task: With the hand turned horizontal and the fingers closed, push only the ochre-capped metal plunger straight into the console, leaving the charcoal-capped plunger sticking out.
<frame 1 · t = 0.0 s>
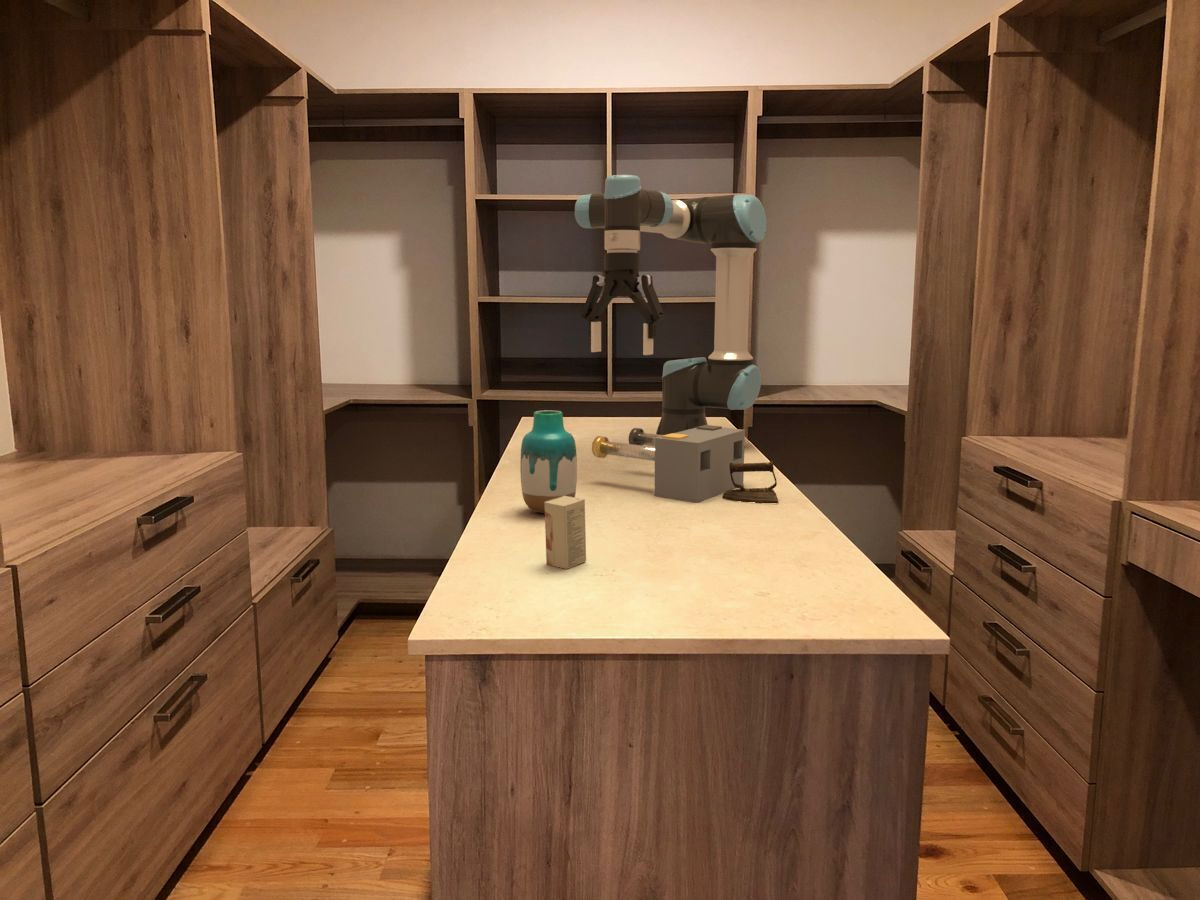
hand: (621, 353, 190), 28 cm above the table, tool pointing down, fingers open, 13 cm apart
console: (700, 490, 186), on the table
plunger ochre: (637, 451, 186), point 8 cm above the table, slide at 0.0 cm
skincare box: (565, 564, 137), on the table
vase: (549, 513, 168), on the table
plunger grey: (672, 442, 197), point 8 cm above the table, slide at 0.0 cm
clothes iron: (749, 500, 179), on the table
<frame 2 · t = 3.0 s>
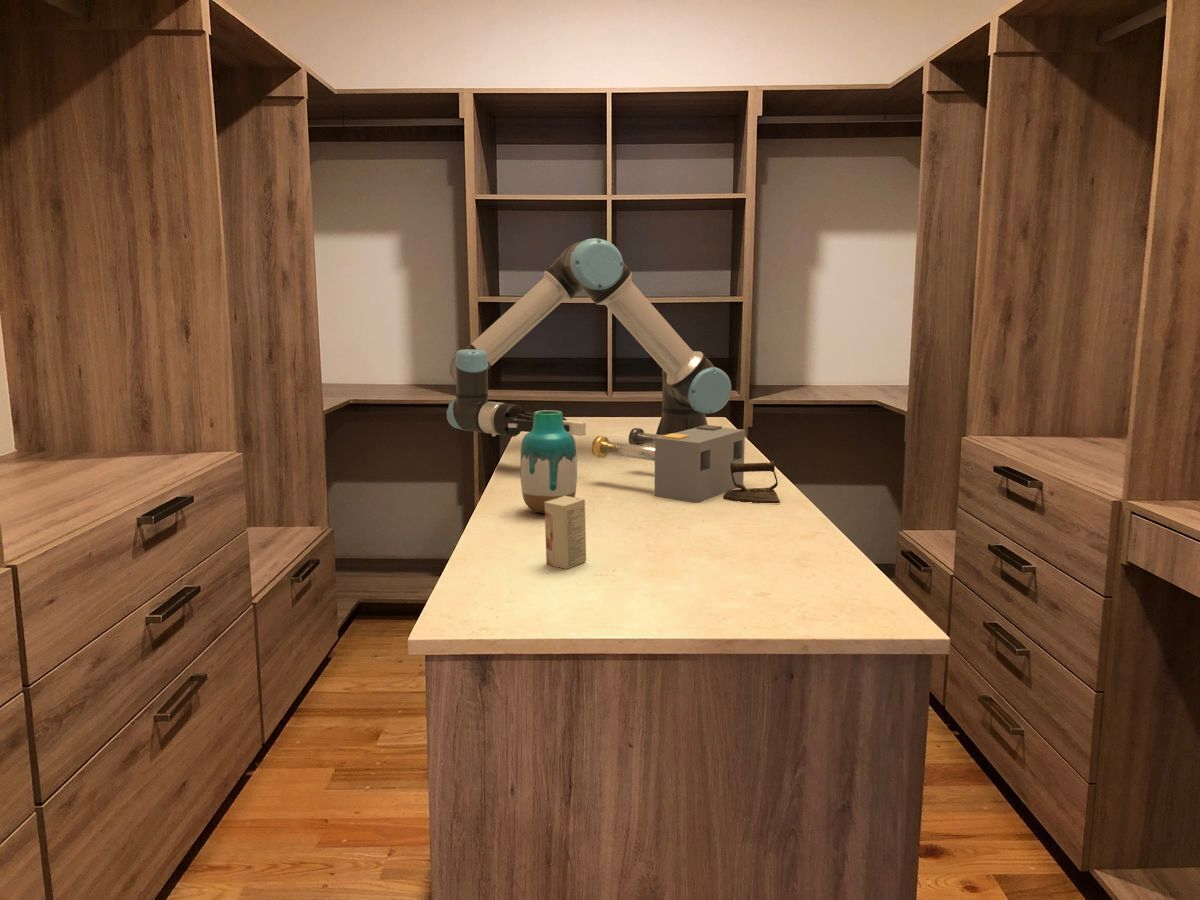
hand: (583, 429, 193), 11 cm above the table, tool horizontal, fingers closed
nothing on the table moved.
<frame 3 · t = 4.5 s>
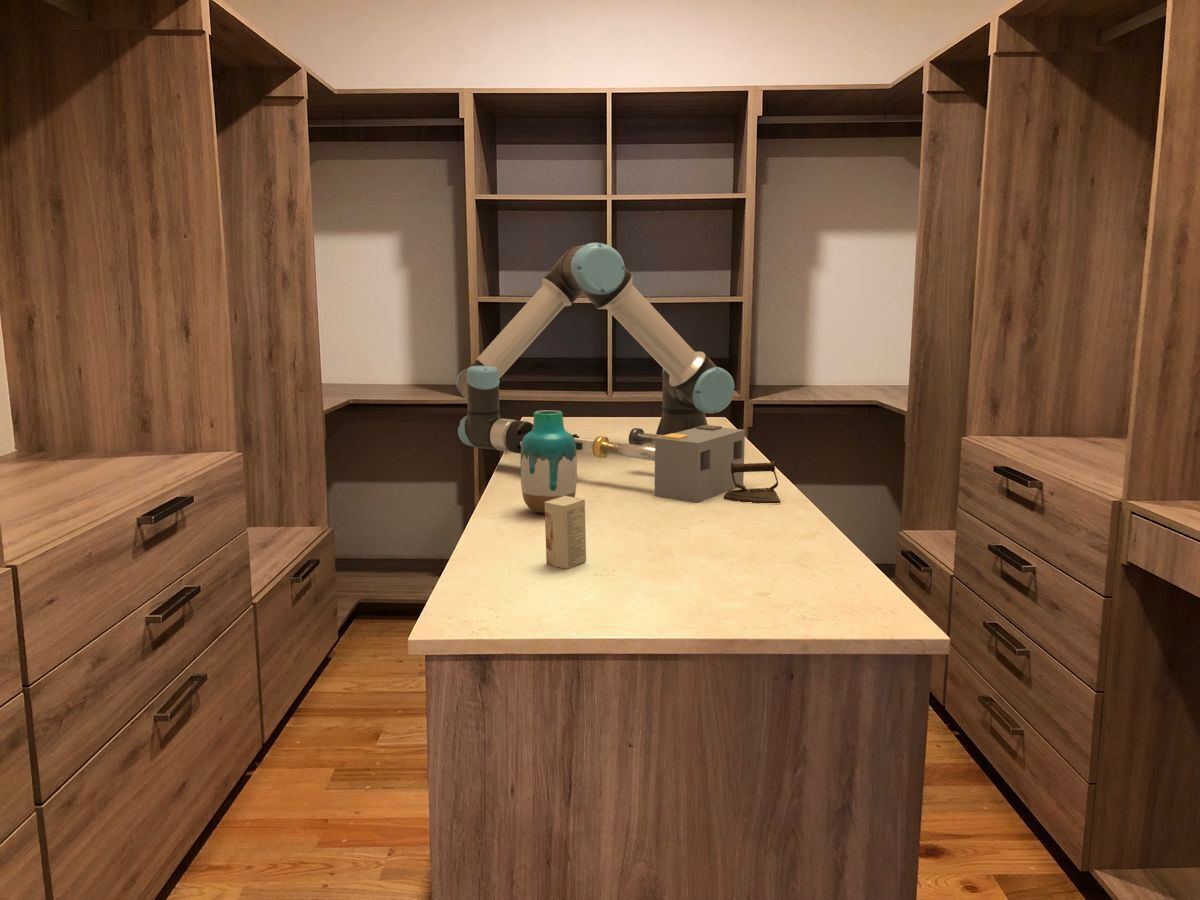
hand: (596, 447, 191), 8 cm above the table, tool horizontal, fingers closed
plunger ochre: (638, 451, 186), point 8 cm above the table, slide at 0.1 cm, touching gripper
everything else where it was.
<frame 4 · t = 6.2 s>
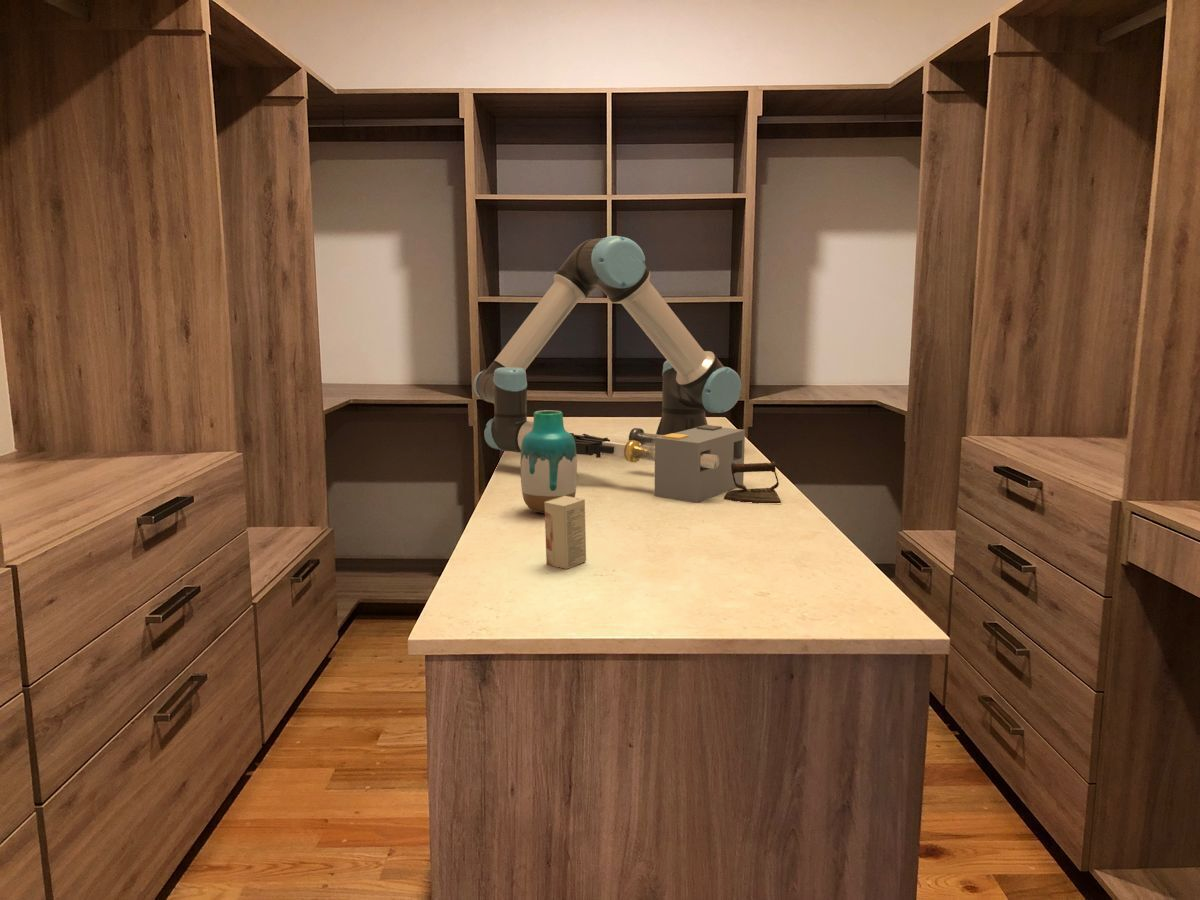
hand: (628, 451, 187), 8 cm above the table, tool horizontal, fingers closed
plunger ochre: (671, 456, 181), point 8 cm above the table, slide at 8.4 cm, touching gripper
everything else where it was.
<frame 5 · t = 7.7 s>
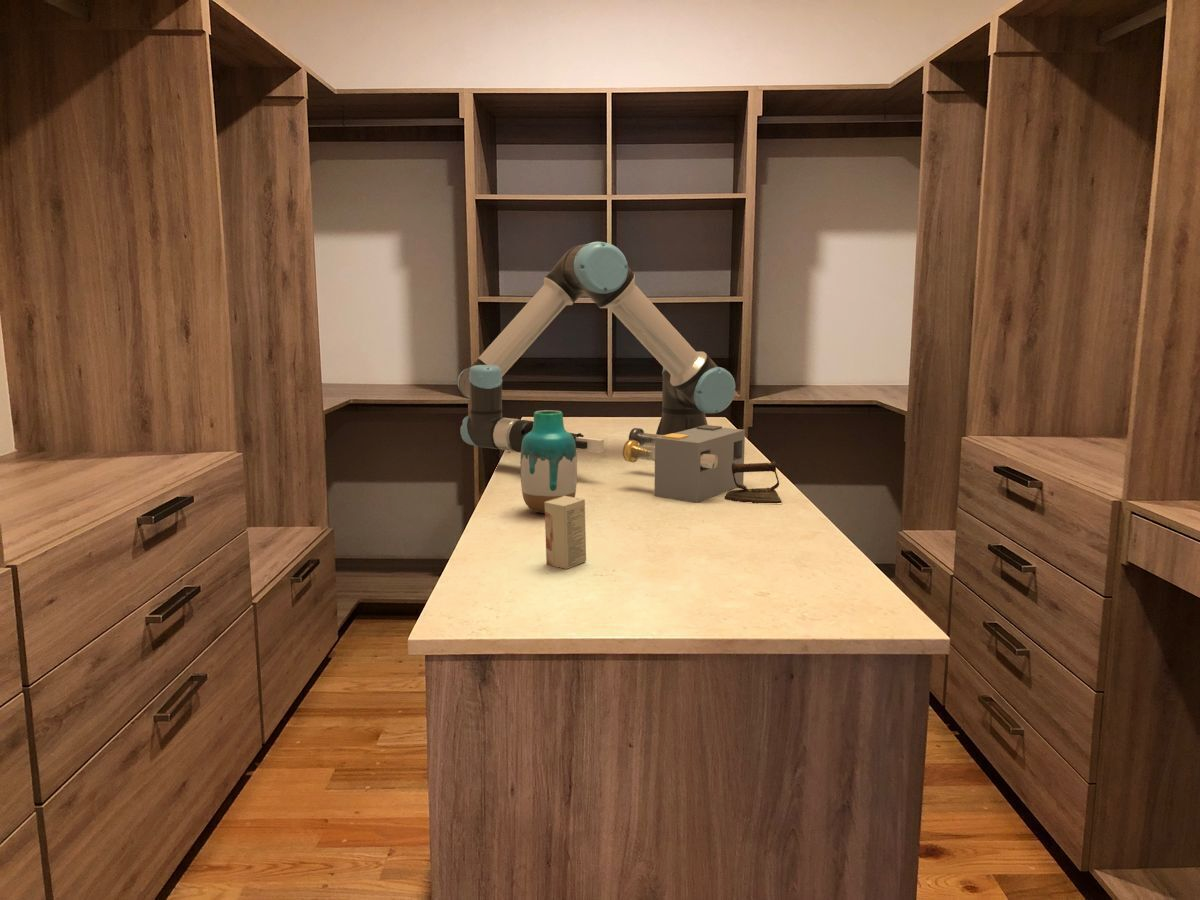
hand: (601, 446, 191), 8 cm above the table, tool horizontal, fingers closed
plunger ochre: (670, 456, 181), point 8 cm above the table, slide at 8.0 cm
everything else where it was.
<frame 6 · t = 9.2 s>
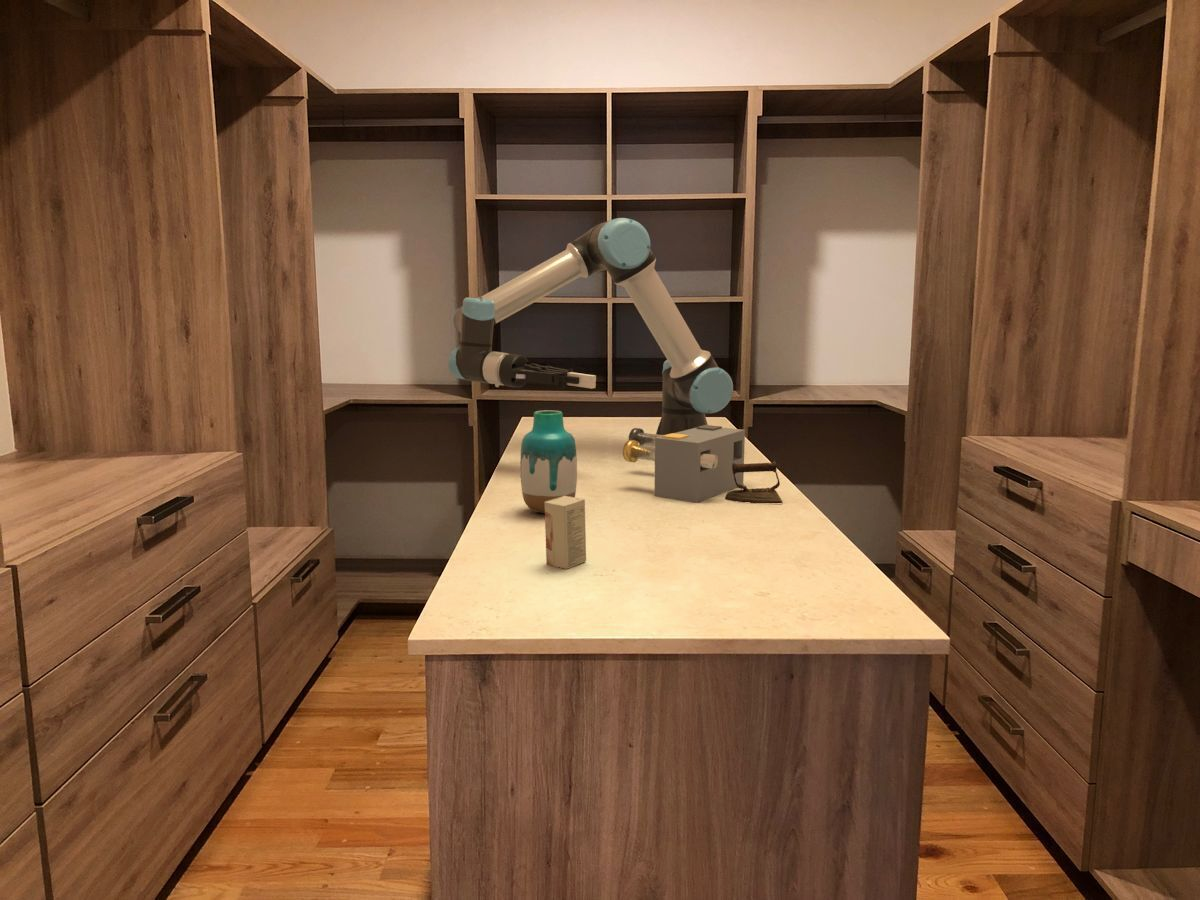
hand: (593, 382, 192), 22 cm above the table, tool horizontal, fingers closed
nothing on the table moved.
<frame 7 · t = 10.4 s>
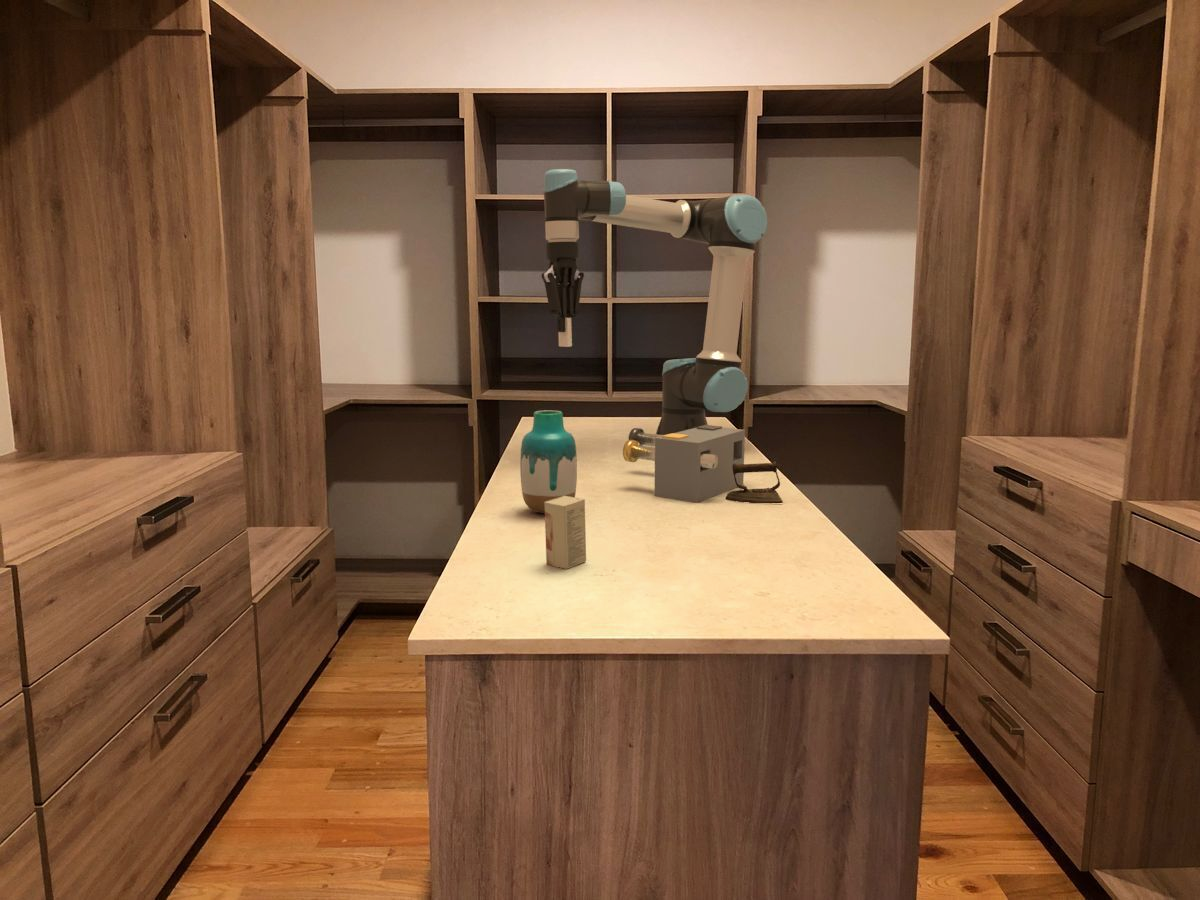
hand: (565, 346, 204), 29 cm above the table, tool pointing down, fingers closed
nothing on the table moved.
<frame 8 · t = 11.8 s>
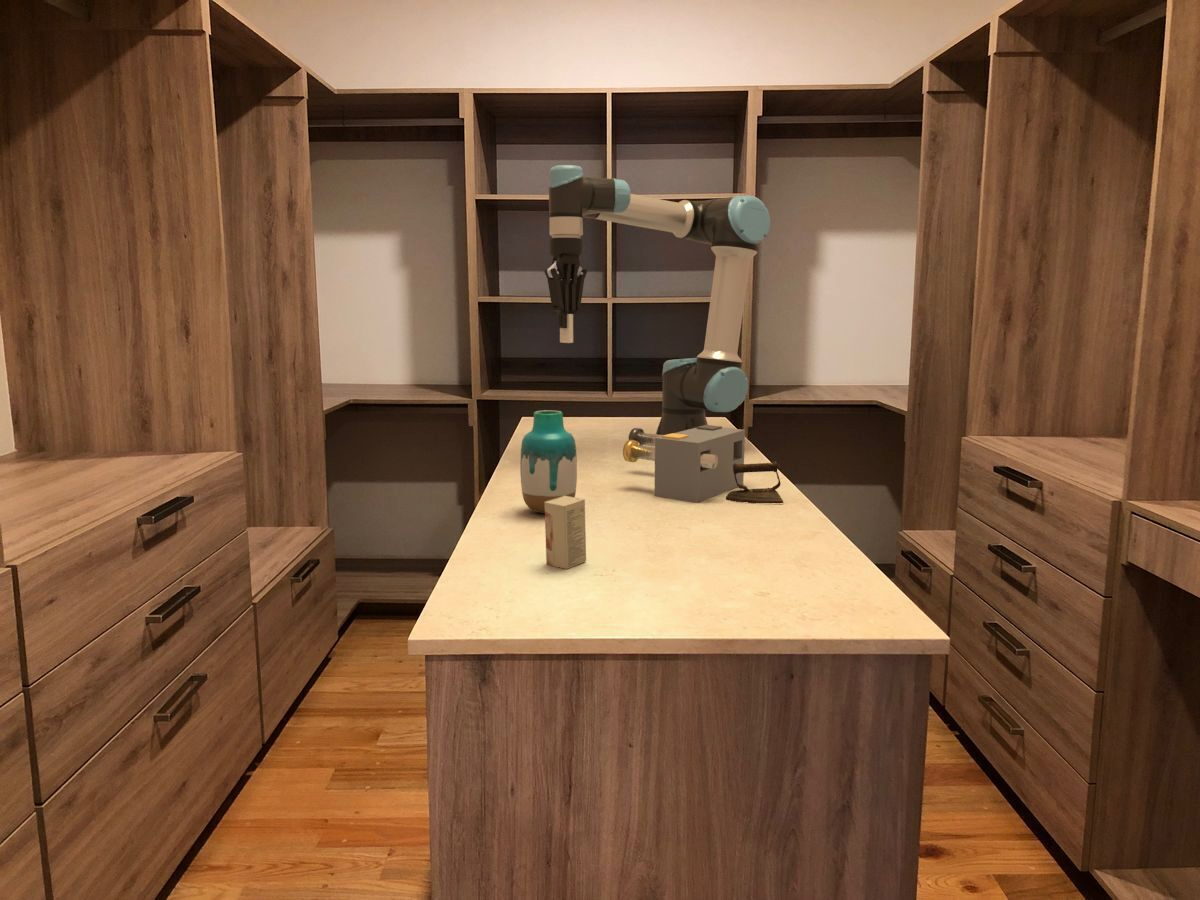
hand: (566, 342, 204), 29 cm above the table, tool pointing down, fingers closed
nothing on the table moved.
at the end: plunger ochre slide at 8.0 cm; plunger grey slide at 0.0 cm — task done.
